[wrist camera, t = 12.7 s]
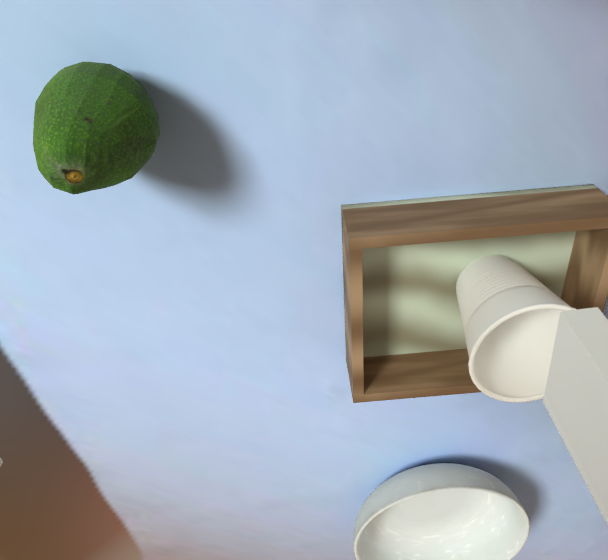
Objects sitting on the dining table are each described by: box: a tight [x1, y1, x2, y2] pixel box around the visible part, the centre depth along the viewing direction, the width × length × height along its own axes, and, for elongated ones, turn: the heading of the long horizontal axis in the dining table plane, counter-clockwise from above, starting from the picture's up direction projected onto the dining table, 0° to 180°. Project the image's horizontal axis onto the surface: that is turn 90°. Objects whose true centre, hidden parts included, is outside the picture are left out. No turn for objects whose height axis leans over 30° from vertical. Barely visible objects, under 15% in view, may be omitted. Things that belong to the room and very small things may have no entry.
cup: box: [456, 255, 577, 402], centre depth 47 cm, size 10×10×11 cm
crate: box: [341, 184, 608, 403], centre depth 50 cm, size 18×22×6 cm
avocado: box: [33, 62, 160, 194], centre depth 37 cm, size 8×8×12 cm
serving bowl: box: [353, 463, 530, 560], centre depth 68 cm, size 21×21×7 cm
